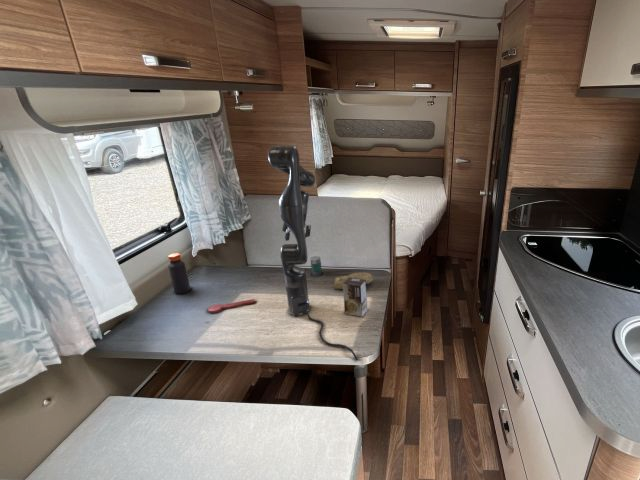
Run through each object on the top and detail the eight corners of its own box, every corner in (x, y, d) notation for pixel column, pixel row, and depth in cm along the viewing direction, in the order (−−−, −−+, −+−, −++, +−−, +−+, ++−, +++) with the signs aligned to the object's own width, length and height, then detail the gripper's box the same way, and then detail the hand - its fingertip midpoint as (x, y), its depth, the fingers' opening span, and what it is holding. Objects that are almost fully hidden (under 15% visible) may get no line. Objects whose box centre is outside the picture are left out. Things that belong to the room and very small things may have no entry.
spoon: (254, 304, 161) (254, 302, 161) (207, 314, 153) (207, 312, 153) (254, 298, 166) (253, 296, 166) (208, 307, 158) (208, 305, 158)
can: (322, 274, 191) (321, 259, 188) (312, 276, 189) (311, 260, 185) (320, 270, 196) (319, 255, 192) (311, 272, 194) (309, 256, 190)
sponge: (335, 294, 173) (372, 287, 173) (331, 280, 172) (369, 273, 172) (340, 286, 186) (375, 279, 186) (337, 273, 185) (372, 266, 185)
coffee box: (367, 309, 159) (366, 279, 154) (362, 317, 153) (361, 286, 148) (350, 306, 162) (348, 276, 156) (344, 313, 156) (342, 283, 150)
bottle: (175, 295, 168) (166, 259, 161) (173, 290, 172) (164, 254, 166) (191, 291, 172) (183, 255, 165) (189, 285, 177) (181, 251, 170)
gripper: (282, 208, 167) (277, 240, 169) (308, 214, 164) (303, 246, 167) (290, 208, 174) (286, 238, 176) (315, 213, 172) (311, 244, 174)
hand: (294, 242), depth 172 cm, fingers open, 8 cm apart
